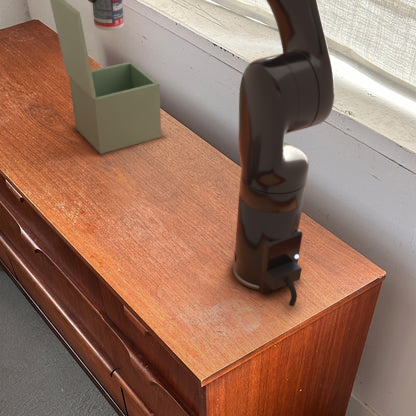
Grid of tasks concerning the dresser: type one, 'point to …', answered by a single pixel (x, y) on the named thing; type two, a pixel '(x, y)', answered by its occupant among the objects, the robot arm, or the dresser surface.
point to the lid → (73, 44)
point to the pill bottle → (108, 14)
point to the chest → (118, 108)
